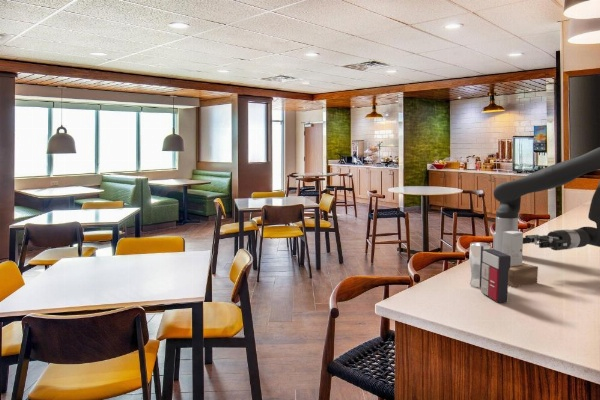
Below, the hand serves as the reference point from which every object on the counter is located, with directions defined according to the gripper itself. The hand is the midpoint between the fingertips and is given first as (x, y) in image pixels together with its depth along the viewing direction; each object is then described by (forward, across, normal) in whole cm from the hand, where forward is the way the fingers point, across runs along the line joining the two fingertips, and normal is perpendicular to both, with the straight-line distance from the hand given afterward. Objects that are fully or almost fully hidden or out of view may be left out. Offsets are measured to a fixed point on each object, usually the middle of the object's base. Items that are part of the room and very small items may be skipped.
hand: (530, 242), depth 170 cm
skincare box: (+8, 0, +8) cm, 11 cm away
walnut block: (+8, 0, +14) cm, 16 cm away
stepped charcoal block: (+28, +13, +14) cm, 34 cm away
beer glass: (+24, +1, +14) cm, 27 cm away
